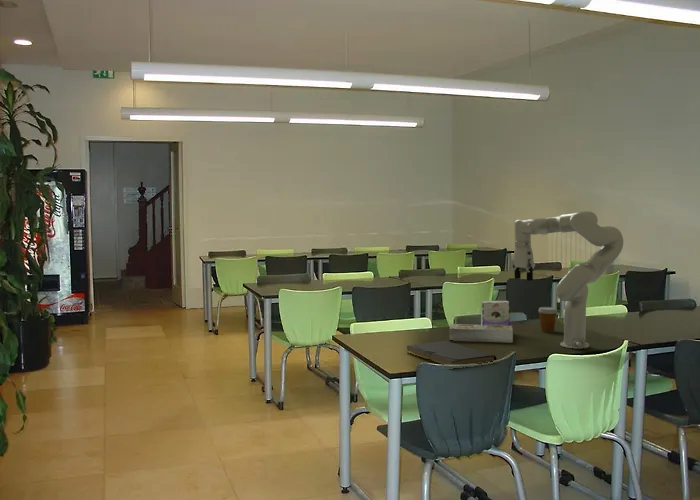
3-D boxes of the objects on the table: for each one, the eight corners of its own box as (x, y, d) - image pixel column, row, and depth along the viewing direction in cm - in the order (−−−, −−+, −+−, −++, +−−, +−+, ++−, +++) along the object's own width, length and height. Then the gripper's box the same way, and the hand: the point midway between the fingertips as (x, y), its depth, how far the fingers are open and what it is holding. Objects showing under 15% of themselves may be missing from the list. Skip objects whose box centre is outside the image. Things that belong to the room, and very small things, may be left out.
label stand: (511, 337, 332) (511, 324, 332) (512, 342, 321) (512, 329, 320) (450, 335, 338) (450, 323, 338) (449, 340, 326) (449, 327, 326)
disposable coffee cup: (554, 333, 340) (554, 310, 339) (535, 331, 345) (536, 308, 344) (559, 330, 348) (559, 307, 347) (540, 328, 353) (541, 306, 352)
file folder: (406, 344, 302) (449, 339, 314) (406, 353, 303) (449, 348, 314) (450, 360, 273) (496, 354, 285) (450, 370, 274) (496, 363, 285)
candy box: (507, 331, 346) (507, 300, 345) (509, 334, 340) (509, 302, 339) (480, 331, 347) (480, 300, 346) (482, 334, 341) (482, 302, 340)
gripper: (540, 244, 321) (541, 280, 322) (518, 243, 337) (519, 277, 338) (527, 245, 318) (528, 281, 319) (506, 244, 334) (506, 278, 335)
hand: (523, 279), depth 329 cm, fingers open, 9 cm apart
